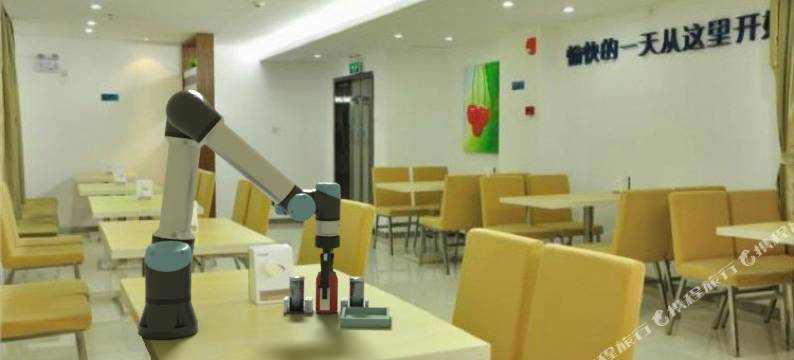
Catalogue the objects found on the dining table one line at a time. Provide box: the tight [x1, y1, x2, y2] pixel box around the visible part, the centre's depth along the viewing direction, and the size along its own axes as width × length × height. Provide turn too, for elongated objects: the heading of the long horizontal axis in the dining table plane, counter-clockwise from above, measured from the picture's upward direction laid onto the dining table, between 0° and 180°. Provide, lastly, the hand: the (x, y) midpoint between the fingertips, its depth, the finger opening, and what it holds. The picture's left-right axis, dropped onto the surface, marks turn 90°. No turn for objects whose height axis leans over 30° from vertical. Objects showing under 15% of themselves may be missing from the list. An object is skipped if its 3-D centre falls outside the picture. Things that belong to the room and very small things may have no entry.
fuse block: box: [283, 275, 370, 315], centre depth 211 cm, size 5×25×10 cm, turn 91°
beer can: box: [315, 270, 339, 315], centre depth 211 cm, size 7×7×12 cm
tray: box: [339, 306, 391, 328], centre depth 202 cm, size 14×14×2 cm
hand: (326, 304), depth 211 cm, fingers open, 13 cm apart
